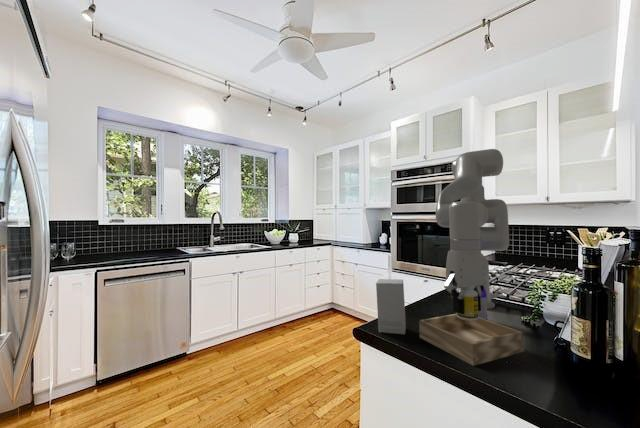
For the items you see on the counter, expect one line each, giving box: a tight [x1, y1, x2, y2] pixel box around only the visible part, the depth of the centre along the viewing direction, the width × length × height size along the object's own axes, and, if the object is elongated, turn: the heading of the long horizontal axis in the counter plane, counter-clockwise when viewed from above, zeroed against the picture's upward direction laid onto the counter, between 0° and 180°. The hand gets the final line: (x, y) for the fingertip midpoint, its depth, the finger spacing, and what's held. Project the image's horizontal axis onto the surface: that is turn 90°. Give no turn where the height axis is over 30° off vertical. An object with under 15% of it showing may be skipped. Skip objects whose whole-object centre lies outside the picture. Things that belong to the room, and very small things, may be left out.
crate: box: [418, 313, 525, 367], centre depth 77 cm, size 18×18×5 cm
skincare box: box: [375, 278, 407, 335], centre depth 88 cm, size 8×7×16 cm
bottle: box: [478, 288, 488, 320], centre depth 94 cm, size 7×6×17 cm
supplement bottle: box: [455, 286, 478, 321], centre depth 78 cm, size 5×5×10 cm
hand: (467, 310), depth 77 cm, fingers closed on supplement bottle, 5 cm apart
